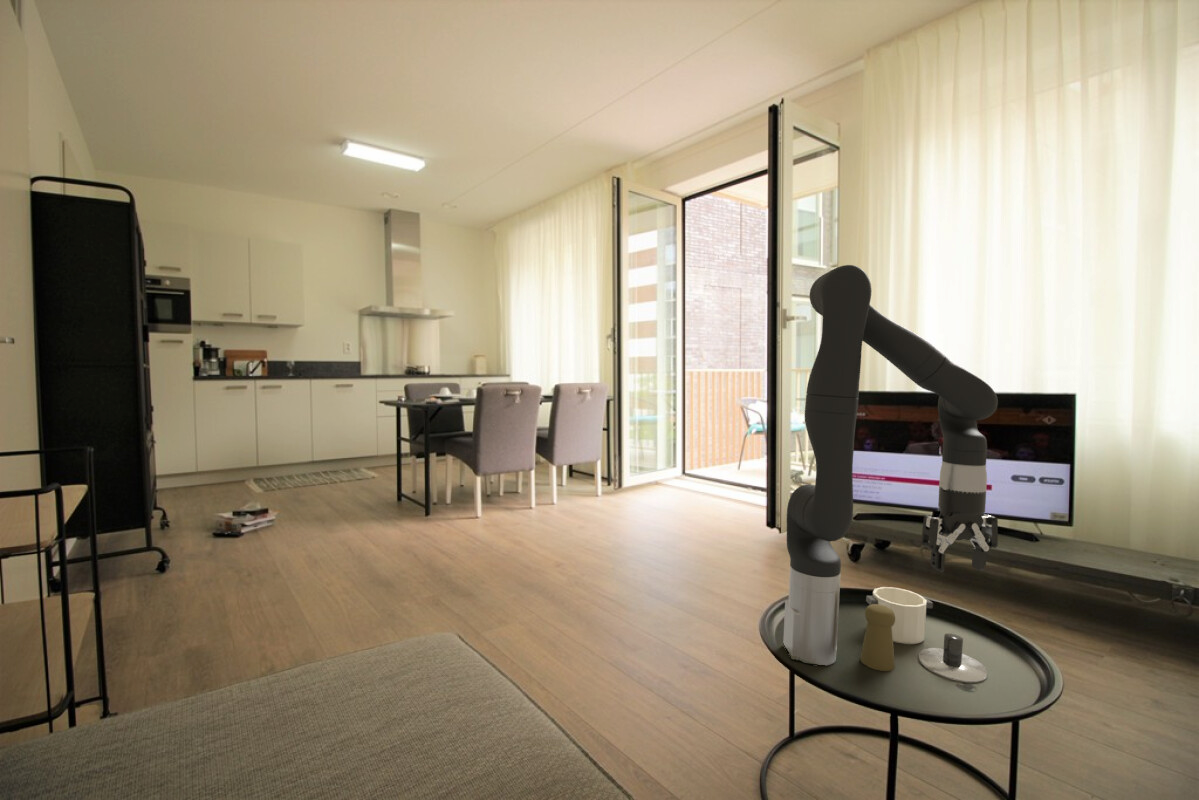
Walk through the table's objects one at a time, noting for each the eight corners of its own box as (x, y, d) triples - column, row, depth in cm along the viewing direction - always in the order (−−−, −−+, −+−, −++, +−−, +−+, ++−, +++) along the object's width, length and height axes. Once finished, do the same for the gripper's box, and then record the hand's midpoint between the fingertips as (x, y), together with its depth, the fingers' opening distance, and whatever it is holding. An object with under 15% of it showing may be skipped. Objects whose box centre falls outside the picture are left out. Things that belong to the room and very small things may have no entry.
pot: (877, 642, 115) (879, 605, 114) (857, 620, 125) (859, 586, 124) (940, 645, 114) (943, 607, 114) (915, 623, 124) (917, 588, 124)
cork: (853, 658, 108) (856, 603, 108) (874, 652, 111) (877, 598, 110) (880, 673, 103) (883, 616, 102) (902, 667, 105) (905, 610, 105)
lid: (938, 682, 101) (940, 650, 101) (907, 651, 112) (909, 622, 112) (1000, 685, 101) (1002, 653, 100) (963, 654, 112) (965, 625, 111)
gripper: (979, 481, 110) (975, 561, 111) (914, 482, 108) (910, 564, 109) (1012, 490, 103) (1007, 575, 104) (943, 491, 101) (939, 578, 102)
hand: (957, 569), depth 107 cm, fingers open, 8 cm apart
